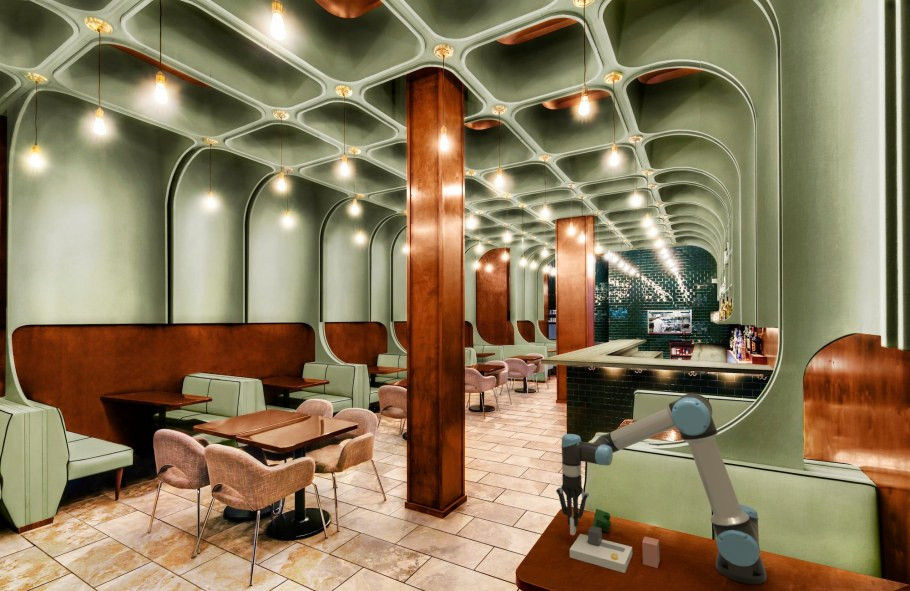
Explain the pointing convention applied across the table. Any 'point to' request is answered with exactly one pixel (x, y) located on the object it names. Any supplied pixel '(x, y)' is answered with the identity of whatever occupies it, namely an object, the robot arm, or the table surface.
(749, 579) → the robot arm
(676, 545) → the table surface
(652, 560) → the post
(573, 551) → the block
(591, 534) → the breaker toggle
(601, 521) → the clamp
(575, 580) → the table surface
